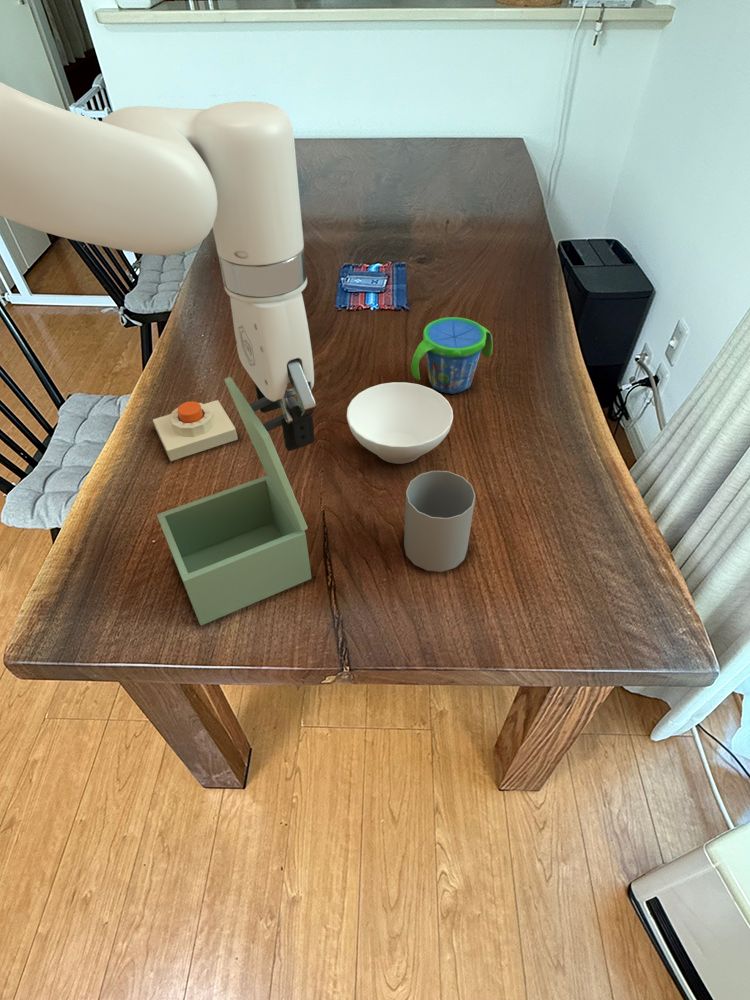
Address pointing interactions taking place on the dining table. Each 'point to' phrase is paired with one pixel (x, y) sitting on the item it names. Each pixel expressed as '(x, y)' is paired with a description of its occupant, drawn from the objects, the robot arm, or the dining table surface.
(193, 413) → the button
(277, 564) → the green hinged box
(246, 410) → the lid
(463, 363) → the snack cup
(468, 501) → the cup
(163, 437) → the panel
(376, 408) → the bowl
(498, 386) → the dining table surface
